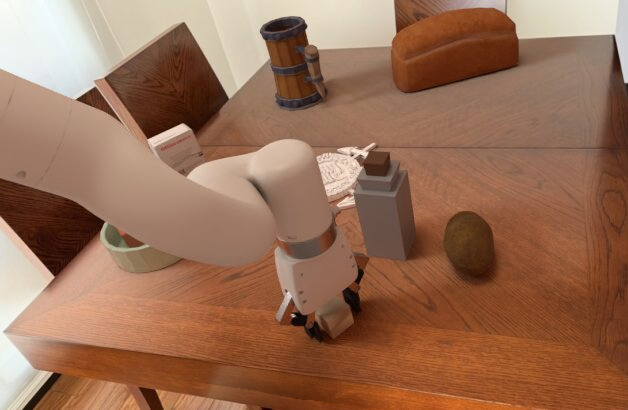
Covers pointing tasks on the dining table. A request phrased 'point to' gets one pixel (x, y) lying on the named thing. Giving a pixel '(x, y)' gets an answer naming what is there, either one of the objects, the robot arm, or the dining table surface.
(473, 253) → the potato
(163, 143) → the ink box
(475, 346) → the dining table surface
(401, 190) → the perfume bottle
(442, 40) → the bread
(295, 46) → the mug
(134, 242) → the terracotta block
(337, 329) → the cream block
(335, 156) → the pendant
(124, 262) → the bowl
